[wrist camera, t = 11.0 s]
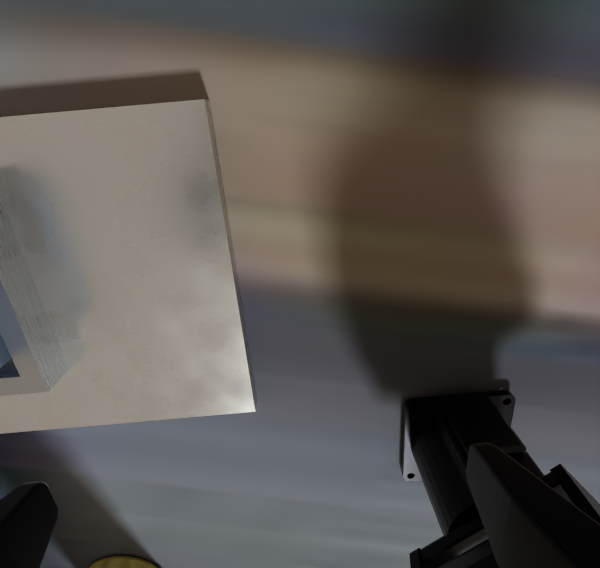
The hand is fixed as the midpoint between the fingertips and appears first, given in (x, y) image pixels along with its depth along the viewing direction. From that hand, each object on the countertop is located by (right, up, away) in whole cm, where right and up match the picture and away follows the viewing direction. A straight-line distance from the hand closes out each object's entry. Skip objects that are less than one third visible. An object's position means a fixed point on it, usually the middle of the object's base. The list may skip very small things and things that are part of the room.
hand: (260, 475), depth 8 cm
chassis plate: (-12, +4, +11) cm, 17 cm away
